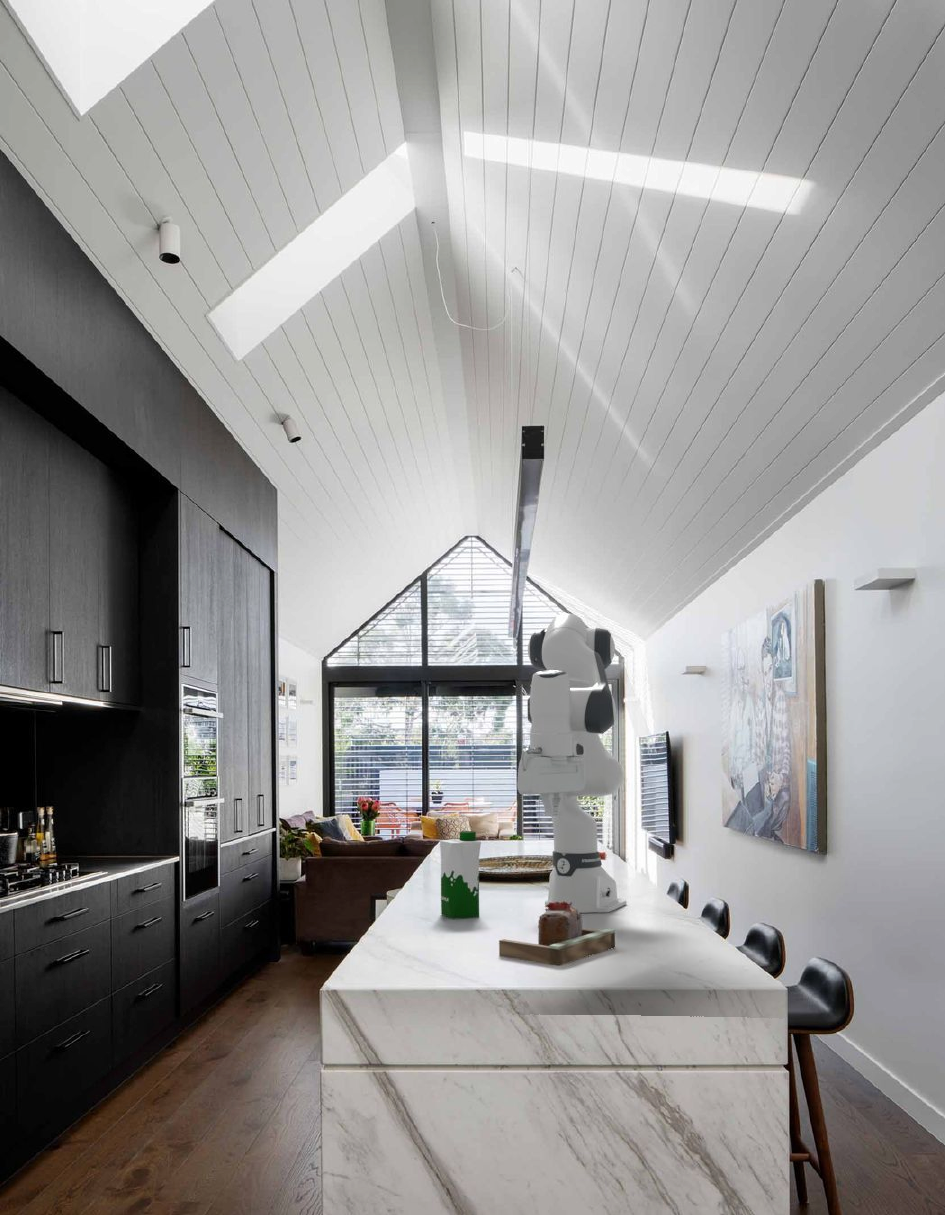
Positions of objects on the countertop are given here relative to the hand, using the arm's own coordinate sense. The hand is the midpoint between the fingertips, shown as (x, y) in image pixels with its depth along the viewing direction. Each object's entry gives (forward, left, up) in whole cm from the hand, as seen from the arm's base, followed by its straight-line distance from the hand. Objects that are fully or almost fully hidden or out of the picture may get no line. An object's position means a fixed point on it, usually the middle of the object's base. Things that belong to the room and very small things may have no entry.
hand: (552, 815), depth 203 cm
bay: (0, +1, -27) cm, 27 cm away
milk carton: (-20, -41, -27) cm, 53 cm away
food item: (-1, +1, -27) cm, 27 cm away
